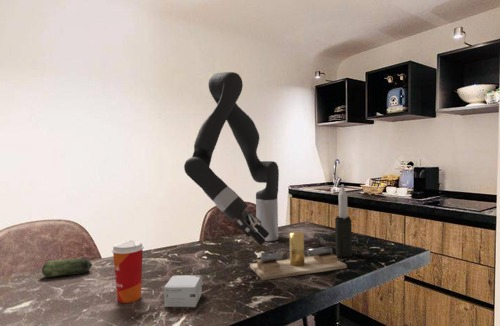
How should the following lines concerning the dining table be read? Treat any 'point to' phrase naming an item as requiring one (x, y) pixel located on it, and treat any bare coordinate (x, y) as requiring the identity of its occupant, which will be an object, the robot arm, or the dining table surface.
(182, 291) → the small box
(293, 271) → the shaft bench
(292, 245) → the cylinder
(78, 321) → the dining table surface
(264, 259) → the shafts
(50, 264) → the vegetable
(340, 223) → the black and grey bottle
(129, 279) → the paper cup
